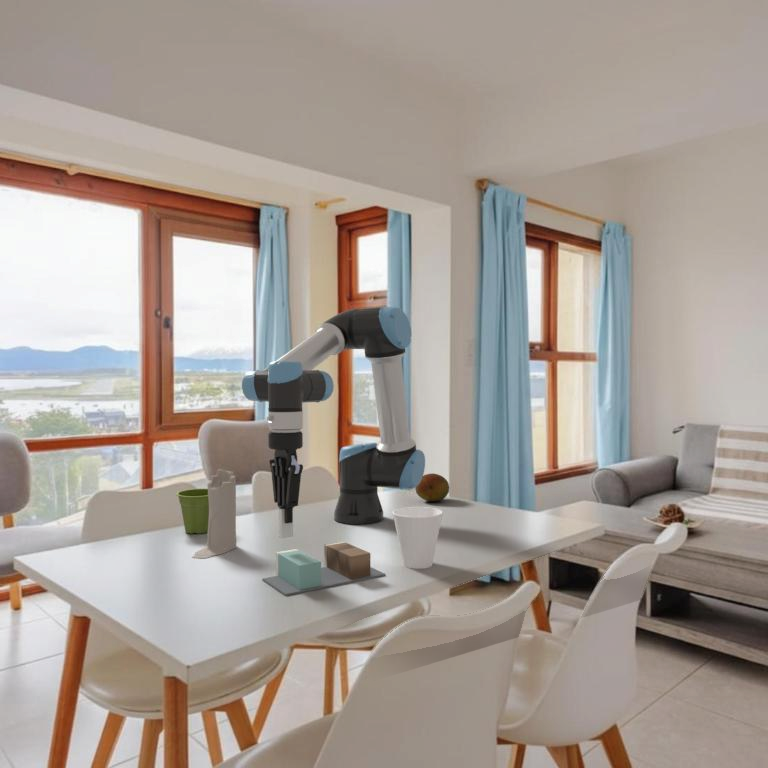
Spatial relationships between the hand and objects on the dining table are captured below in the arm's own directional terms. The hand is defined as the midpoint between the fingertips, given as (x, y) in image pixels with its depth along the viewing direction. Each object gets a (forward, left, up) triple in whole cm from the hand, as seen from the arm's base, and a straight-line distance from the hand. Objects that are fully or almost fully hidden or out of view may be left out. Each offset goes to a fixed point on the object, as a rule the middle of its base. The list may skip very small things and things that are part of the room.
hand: (286, 536), depth 145 cm
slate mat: (+6, +6, -9) cm, 12 cm away
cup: (+9, +29, -9) cm, 32 cm away
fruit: (-50, +78, -9) cm, 93 cm away
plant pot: (-52, -4, -9) cm, 52 cm away
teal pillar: (0, 0, -6) cm, 6 cm away
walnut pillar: (0, +12, -6) cm, 13 cm away
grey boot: (-29, -7, -9) cm, 31 cm away
